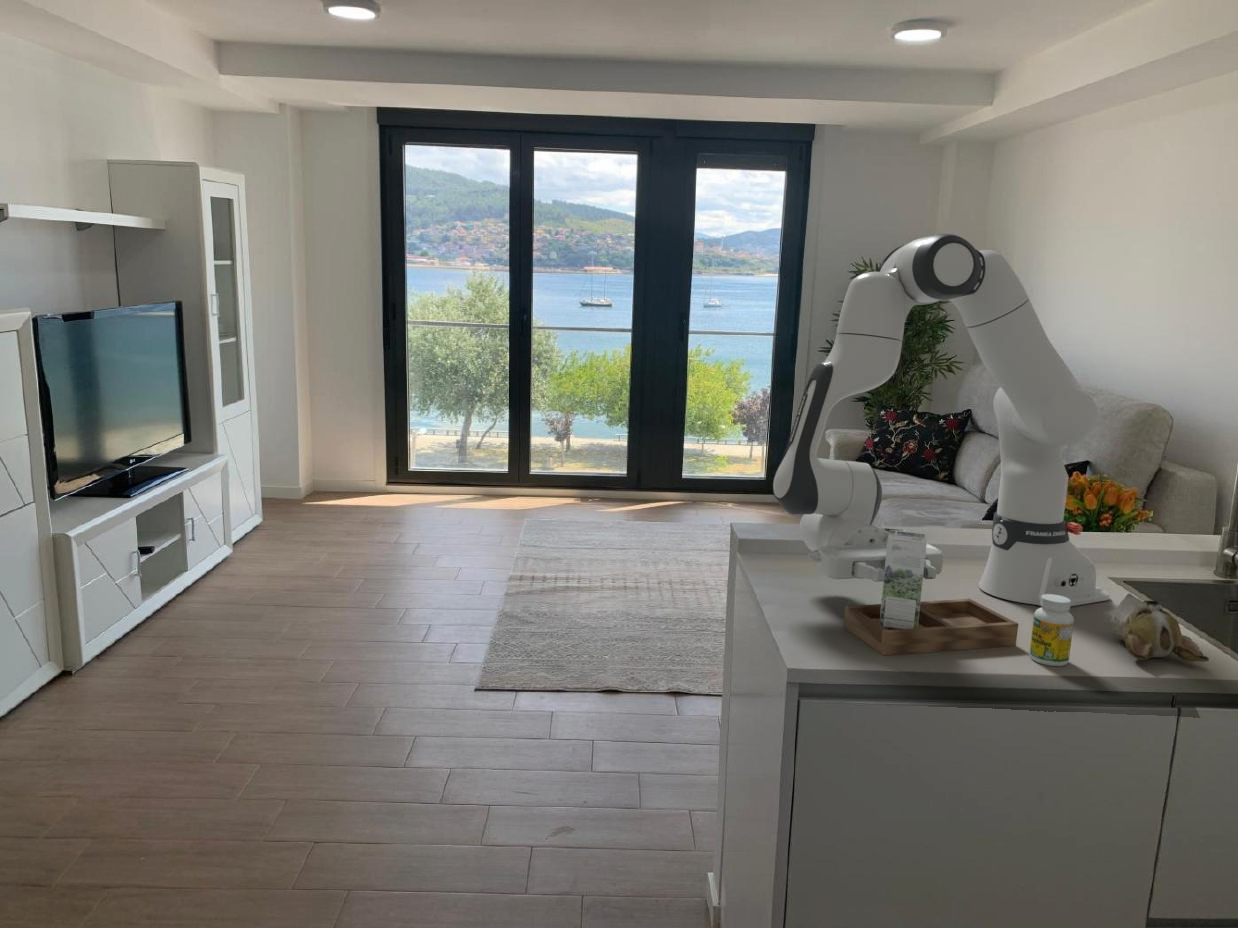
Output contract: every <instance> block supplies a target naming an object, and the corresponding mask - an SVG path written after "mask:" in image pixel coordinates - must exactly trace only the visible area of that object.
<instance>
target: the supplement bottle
mask: <svg viewBox="0 0 1238 928" xmlns="http://www.w3.org/2000/svg"><path fill="white" fill-rule="evenodd" d="M1040 604H1041V606H1040V607H1039V608H1037V609H1036V610H1035V611H1034V613H1033V621H1032V627H1031V628H1032V629H1031V638H1030V648H1029V657H1030V658H1031V659H1032V660H1033V661H1034V662H1036V663H1038V664H1042V665H1046V666H1050V667H1064V666H1067V664H1069V661H1070V653H1071V645H1072V639H1073V630H1074V623H1075V621H1074V620H1075V618H1074V616H1073V614H1072V613H1071V612H1069V611H1070V609H1071V606H1070V604H1071V600H1070V599H1068V598H1066V597H1064V596H1060V595H1054V594H1045V595H1042V596H1041V601H1040Z"/></svg>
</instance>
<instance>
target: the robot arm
mask: <svg viewBox="0 0 1238 928" xmlns="http://www.w3.org/2000/svg"><path fill="white" fill-rule="evenodd" d="M942 300H945V301H946V300H949V301H950V302H951V303H952V304H953V305H954V306H955V307H956V309H957V311H958V312H959V314H960V316H961V319H962V321H963V324H964V326H965V328H966V329H967V330H966V331H967V332H968V335H969V336H970V339H971V340H972V343H973V345H974V347H975V349H976V351H977V353H978V356H979V359H980V360H981V362H982V364H983V366H984V368H986V369H987V371H988V372H989V373H990V374H991V375H992V377H993V378H994V380H996V382H997V384H998V385H999V386H1000V387H999V388H998V389H997V391H996V393H995V394H994V397H993V403H992V404H993V405H992V408H993V413H994V414H995V417H996V420H997V421H996V422H997V429H998V432H997V433H998V443H999V444H998V445H999V453H1000V455H999V456H1000V481H999V490H998V499H997V507H996V511H995V512H994V513H993V521H992V527H991V539H992V542H991V547H990V550H989V554H988V558H987V561H986V565H985V568H984V571H983V574H982V575H981V576H982V577H981V578H980V581H979V583H978V588H979V589H980V590H981V591H983V592H985V593H987V594H988V595H991V596H994V597H996V598H1000V599H1004V600H1007V601H1011V602H1016V603H1020V604H1021V603H1023V604H1029V605H1036V606H1039V607H1042V606H1041V604H1040V601H1041V596H1042V595H1045V594H1054V595H1060V596H1064V597H1066V598H1068V599H1070V600H1071V604H1070V607H1075V606H1081V605H1087V604H1093V603H1098V602H1104V601H1105V602H1106V601H1108V600H1110V594H1109V593H1108V592H1107V591H1106V590H1105V589H1103V588H1101V587H1099V586H1097V570H1096V566H1095V563H1094V562H1093V561H1092V560H1091V559H1090V558H1089V557H1088V556H1087V555H1085V554H1084V553H1083V552H1082V551H1081V550H1080V549H1079V548H1078V547H1076V546H1075V544H1073V543H1072V541H1070V535H1069V533H1070V534H1073V535H1075V536H1079V535H1081V533H1082V532H1083V526H1082V524H1080V523H1076V522H1074V521H1071V522H1070V521H1069V522H1067V521H1066V520H1065V519H1064V516H1065V509H1066V500H1067V494H1068V486H1069V485H1068V484H1069V475H1068V472H1067V470H1066V467H1065V464H1064V459H1063V454H1062V447H1072V446H1077V445H1078V444H1080V443H1082V442H1084V441H1085V440H1087V439H1089V437H1090V436H1092V434H1093V433H1094V431H1095V430H1096V428H1097V425H1098V420H1099V410H1098V406H1097V404H1096V402H1095V400H1094V399H1093V398H1092V397H1091V396H1090V395H1089V394H1088V392H1086V391H1085V390H1084V388H1082V386H1081V385H1080V383H1079V382H1078V380H1077V379H1076V378H1075V375H1074V374H1073V373H1072V371H1071V370H1070V368H1069V366H1068V365H1067V364H1066V362H1065V361H1064V360H1063V359H1062V357H1061V356H1060V354H1059V353H1058V351H1057V350H1056V349H1055V347H1054V346H1053V344H1052V342H1051V341H1050V339H1049V338H1048V336H1047V333H1046V332H1045V329H1044V328H1043V325H1042V323H1041V321H1040V319H1039V318H1038V315H1037V313H1036V311H1035V308H1034V307H1033V304H1032V302H1031V300H1030V298H1029V295H1028V293H1027V291H1026V289H1025V288H1024V285H1023V284H1022V282H1021V281H1020V278H1019V277H1018V275H1017V274H1016V272H1015V271H1014V269H1013V268H1012V266H1011V265H1010V264H1009V262H1008V261H1007V259H1006V258H1005V257H1004V256H1003V255H1002V253H1000V252H998V251H996V250H993V249H981V250H979V249H978V250H977V248H975V247H974V246H973V245H972V243H970V241H967V240H966V239H964V238H963V237H961V236H959V235H956V234H953V233H951V234H950V233H939V234H938V233H937V234H935V235H931V236H923V237H920V238H919V237H918V238H917V239H914V240H912V241H910V242H909V243H907V244H903V245H901V246H898V247H896V248H894V249H893V250H892V251H890V252H889V253H888V254H887V255H886V256H885V257H884V259H883V260H882V262H881V263H880V264H879V266H878V268H877V269H876V270H875V271H867V272H864V273H861V274H858V275H857V276H856V277H854V278H853V279H852V280H851V282H850V284H849V285H848V288H847V291H846V294H845V296H844V300H843V303H842V306H841V310H840V314H839V317H838V323H837V327H836V333H835V337H834V338H835V339H834V342H833V345H832V348H831V350H830V353H829V354H828V356H827V357H826V358H825V360H824V361H822V362H820V363H818V364H816V366H815V367H814V368H813V370H812V372H811V374H810V375H809V378H808V380H807V383H806V385H805V388H804V390H803V391H804V392H803V394H802V396H801V400H800V403H799V407H798V410H797V413H796V415H795V416H796V417H795V419H794V421H793V426H792V429H791V431H790V435H789V438H788V442H787V445H786V448H785V450H784V452H783V455H782V458H781V460H780V461H779V464H778V466H777V467H776V470H775V473H774V477H773V481H772V492H773V496H774V498H775V500H776V501H777V503H778V504H779V505H780V507H781V508H782V509H783V510H785V512H787V513H788V514H790V515H802V517H801V518H800V522H799V533H800V536H801V539H802V541H803V542H804V543H805V545H806V547H807V548H808V549H809V550H810V551H812V552H809V553H808V554H807V555H808V558H809V560H811V561H813V562H815V563H817V566H816V567H817V569H818V570H819V571H820V572H821V573H823V574H824V575H825V576H826V577H827V578H830V579H833V580H850V579H859V580H860V579H862V580H863V579H865V580H866V579H867V580H871V581H872V582H874V583H879V582H883V581H884V580H885V577H884V576H885V561H886V551H887V541H888V534H889V530H897V531H906V532H909V531H908V530H903V529H895V528H885V527H879V526H877V525H873V523H874V521H875V519H876V517H877V516H878V513H879V510H880V508H881V504H882V503H881V502H882V497H883V487H882V484H881V481H880V479H879V476H878V474H877V472H876V471H875V469H874V468H873V467H872V466H871V465H870V464H869V463H867V462H860V461H854V460H853V461H852V460H844V459H831V458H830V459H829V458H821V457H817V456H818V455H817V452H818V450H819V446H820V445H821V444H820V443H821V439H822V437H823V434H824V430H825V427H826V424H827V421H828V417H829V414H830V413H831V411H832V409H833V407H835V405H837V404H838V403H839V402H840V401H841V400H844V399H845V398H848V397H851V396H854V395H859V394H861V393H862V394H863V393H866V392H868V391H871V390H874V389H876V388H878V387H880V386H882V385H883V384H885V383H886V382H888V380H890V379H891V378H892V377H893V375H894V374H895V373H896V371H897V368H898V365H899V363H900V358H901V353H902V348H903V347H902V345H903V341H904V340H903V338H904V332H905V323H906V321H907V317H908V315H909V313H910V311H911V310H912V308H913V307H914V306H917V305H918V306H919V305H923V306H924V305H931V304H935V303H937V302H939V301H940V302H941V301H942ZM926 543H927V545H926V556H925V565H924V573H923V579H925V580H933V579H934V580H935V579H936V577H937V575H939V574H941V573H942V570H943V565H944V552H943V551H942V550H941V549H939V548H938V547H936V546H935V545H932V544H930V543H928V541H927V542H926Z"/></svg>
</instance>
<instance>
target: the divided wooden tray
mask: <svg viewBox="0 0 1238 928" xmlns="http://www.w3.org/2000/svg"><path fill="white" fill-rule="evenodd" d="M880 612H881V603H875V604H860V605H859V604H858V605H845V607H844V617H843V618H844V619H843V628H844V629H845V630H846V631H848V632H850V633H851V634H853V635H854V636H855V637H856V638H858V639H860V640H861V641H862V642H864V643H865V644H867V645H868V646H870V647H871V648H872V649H874V650H875V651H877V652H878V653H879V654H881V655H882V656H893V655H895V656H896V655H904V654H905V655H906V654H907V655H909V654H910V655H911V654H920V653H921V654H923V653H935V652H936V653H937V652H946V651H948V652H949V651H958V650H961V651H963V650H973V649H974V650H975V649H986V648H989V649H990V648H999V647H1002V648H1003V647H1011V646H1012V647H1013V646H1016V645H1017V640H1018V639H1017V638H1018V633H1019V632H1018V629H1019V623H1017V622H1016V621H1014V620H1012V619H1010V618H1008V617H1006V616H1004V615H1002V614H1000V613H998V612H996V611H994V610H992V609H990V608H988V607H986V606H984V605H983V604H981V603H979V602H977V601H975V600H973V599H971V598H961V599H945V600H944V599H943V600H929V601H920V611H919V619H918V628H913V629H898V630H895V629H889V628H884V627H883V626H881V625H880Z"/></svg>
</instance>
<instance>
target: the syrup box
mask: <svg viewBox="0 0 1238 928" xmlns="http://www.w3.org/2000/svg"><path fill="white" fill-rule="evenodd" d="M897 530H898V529H897ZM897 530H889V534H888V541H887V551H886V561H885V576H884V577H885V580H884V581H882V592H881V603H880V604H881V612H880V625H881V626H883V627H884V628H889V629H895V630H898V629H913V628H918V619H919V611H920V602H922V601H921V598H922V589H923V588H922V587H923V580H924V578H923V573H924V565H925V556H926V545H927V543H928V541H927V533H925V532H924V533H923V532H914V531H908V532H906V531H907V530H905V531H897ZM926 542H927V543H926Z"/></svg>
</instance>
